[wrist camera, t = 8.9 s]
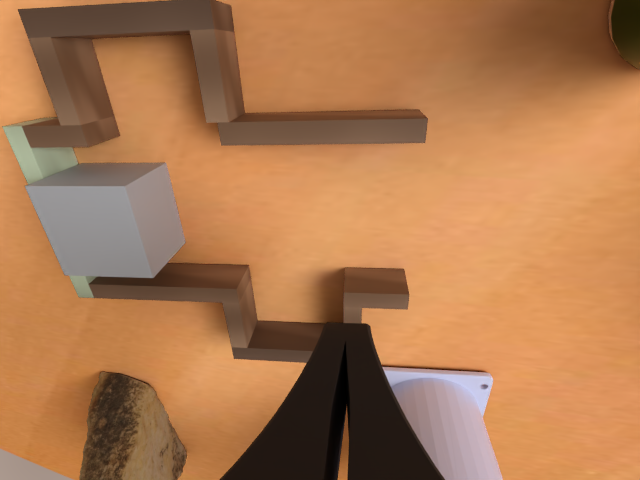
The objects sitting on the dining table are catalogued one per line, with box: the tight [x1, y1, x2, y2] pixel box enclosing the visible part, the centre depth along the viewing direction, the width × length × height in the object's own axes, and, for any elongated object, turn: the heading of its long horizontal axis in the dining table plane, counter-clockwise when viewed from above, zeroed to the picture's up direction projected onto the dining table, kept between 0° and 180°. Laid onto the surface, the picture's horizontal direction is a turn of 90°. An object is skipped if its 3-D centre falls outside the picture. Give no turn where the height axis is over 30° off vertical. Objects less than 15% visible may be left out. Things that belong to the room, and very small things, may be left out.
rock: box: [80, 371, 187, 480], centre depth 28 cm, size 11×9×10 cm
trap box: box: [3, 0, 428, 363], centre depth 19 cm, size 19×20×2 cm
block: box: [25, 163, 186, 278], centre depth 19 cm, size 5×5×4 cm
